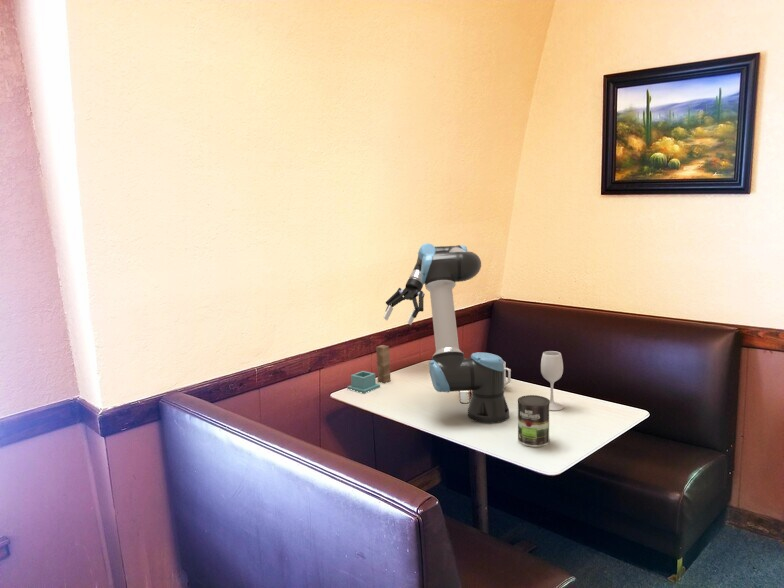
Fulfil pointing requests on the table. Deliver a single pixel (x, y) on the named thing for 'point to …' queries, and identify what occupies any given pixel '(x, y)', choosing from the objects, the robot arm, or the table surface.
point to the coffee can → (533, 420)
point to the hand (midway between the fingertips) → (396, 321)
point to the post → (383, 363)
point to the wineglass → (552, 373)
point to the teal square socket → (363, 382)
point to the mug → (505, 374)
